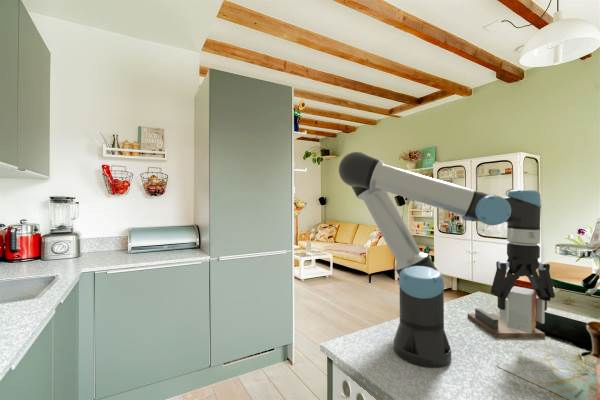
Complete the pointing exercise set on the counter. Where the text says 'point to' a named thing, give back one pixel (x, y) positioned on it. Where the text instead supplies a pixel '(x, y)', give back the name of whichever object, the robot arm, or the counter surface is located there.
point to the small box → (522, 309)
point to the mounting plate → (500, 326)
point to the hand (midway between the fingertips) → (521, 321)
